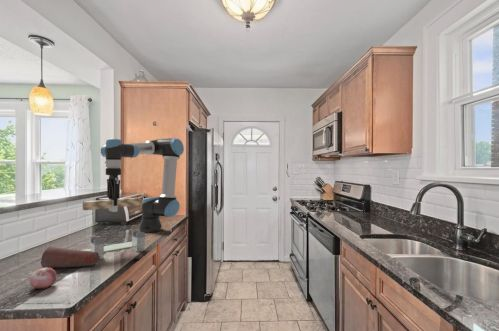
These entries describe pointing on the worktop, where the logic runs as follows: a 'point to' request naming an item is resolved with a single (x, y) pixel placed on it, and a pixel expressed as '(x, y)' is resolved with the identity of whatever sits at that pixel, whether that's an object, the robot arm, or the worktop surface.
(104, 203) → the rail
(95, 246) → the post
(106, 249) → the mat
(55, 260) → the food
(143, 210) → the robot arm
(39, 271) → the onion
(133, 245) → the post
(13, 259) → the worktop surface
